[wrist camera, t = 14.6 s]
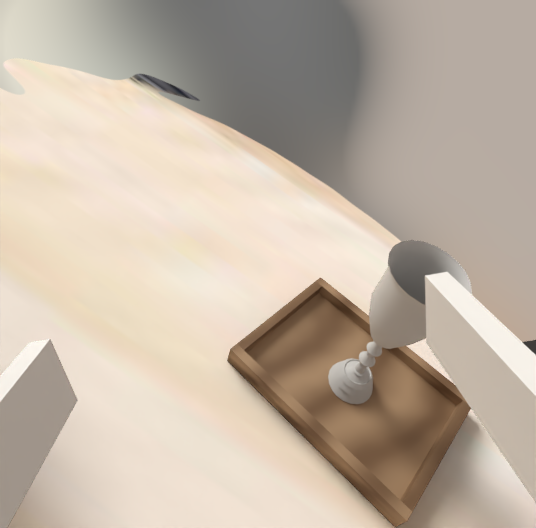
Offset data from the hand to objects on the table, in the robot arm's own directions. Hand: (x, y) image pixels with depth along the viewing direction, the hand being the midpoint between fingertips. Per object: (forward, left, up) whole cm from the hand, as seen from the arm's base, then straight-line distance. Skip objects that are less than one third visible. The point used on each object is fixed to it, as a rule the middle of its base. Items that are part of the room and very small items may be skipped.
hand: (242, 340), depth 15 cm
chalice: (+3, +21, -27) cm, 34 cm away
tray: (+3, +21, -28) cm, 35 cm away
